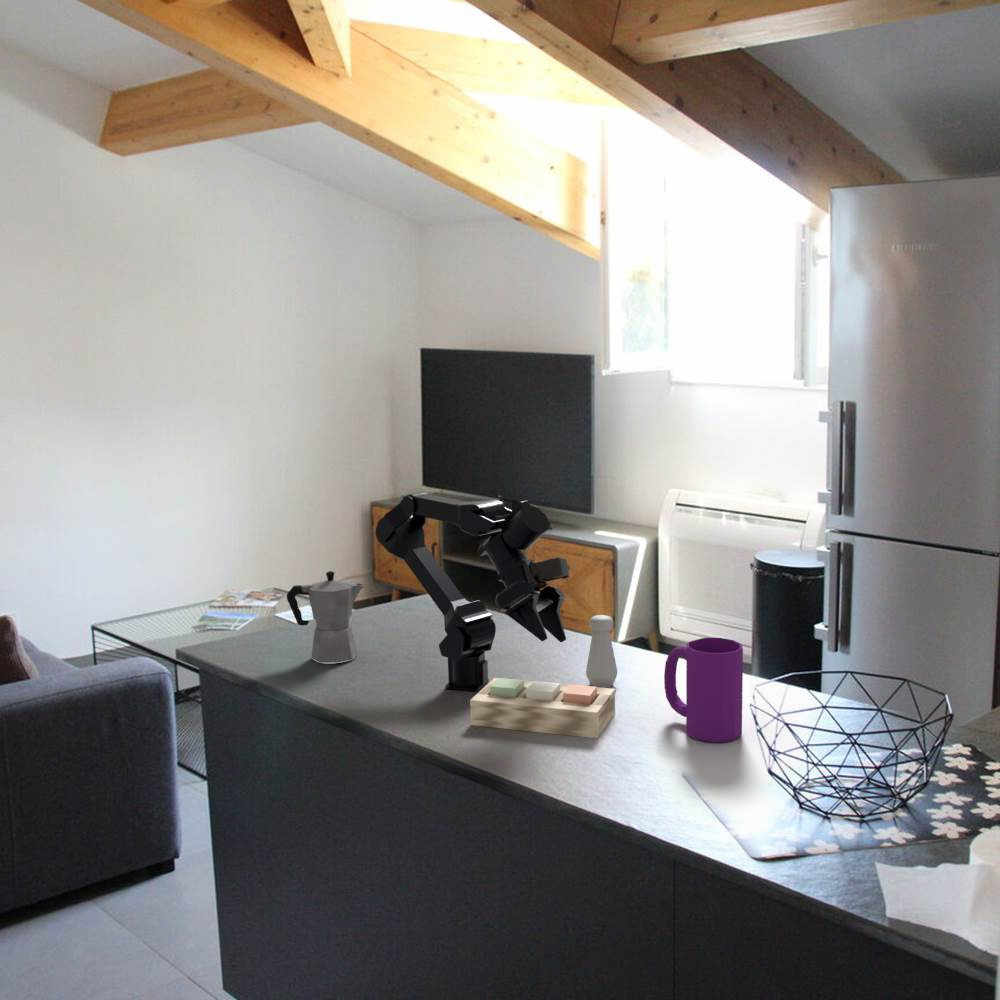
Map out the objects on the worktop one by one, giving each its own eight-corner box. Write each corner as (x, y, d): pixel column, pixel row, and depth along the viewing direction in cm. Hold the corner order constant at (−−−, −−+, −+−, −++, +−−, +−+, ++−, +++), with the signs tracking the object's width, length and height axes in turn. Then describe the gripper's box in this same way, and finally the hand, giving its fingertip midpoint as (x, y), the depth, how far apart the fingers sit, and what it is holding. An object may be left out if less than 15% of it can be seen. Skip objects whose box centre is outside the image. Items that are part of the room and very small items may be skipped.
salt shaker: (615, 690, 211) (615, 621, 208) (584, 689, 212) (583, 620, 210) (619, 680, 216) (618, 612, 214) (588, 679, 217) (587, 611, 215)
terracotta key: (563, 712, 193) (563, 693, 193) (571, 703, 197) (570, 684, 197) (590, 715, 192) (589, 695, 191) (597, 705, 196) (597, 686, 195)
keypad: (470, 725, 195) (470, 700, 194) (494, 701, 206) (494, 677, 206) (597, 738, 188) (597, 712, 187) (615, 713, 199) (615, 688, 198)
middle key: (526, 708, 195) (526, 689, 195) (534, 700, 200) (534, 681, 199) (552, 711, 194) (552, 692, 193) (560, 702, 198) (560, 683, 198)
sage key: (490, 705, 198) (489, 686, 197) (499, 696, 202) (498, 677, 201) (515, 707, 196) (515, 688, 195) (524, 698, 200) (523, 680, 200)
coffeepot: (364, 648, 240) (360, 564, 237) (369, 662, 231) (365, 574, 228) (289, 655, 237) (284, 569, 234) (291, 669, 228) (286, 580, 225)
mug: (715, 748, 182) (715, 657, 180) (646, 721, 195) (646, 635, 192) (754, 734, 188) (755, 645, 185) (685, 709, 200) (685, 625, 198)
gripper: (528, 532, 192) (574, 613, 187) (566, 543, 209) (609, 617, 204) (475, 569, 195) (519, 649, 190) (517, 576, 212) (558, 650, 207)
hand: (554, 640), depth 198 cm, fingers open, 9 cm apart
